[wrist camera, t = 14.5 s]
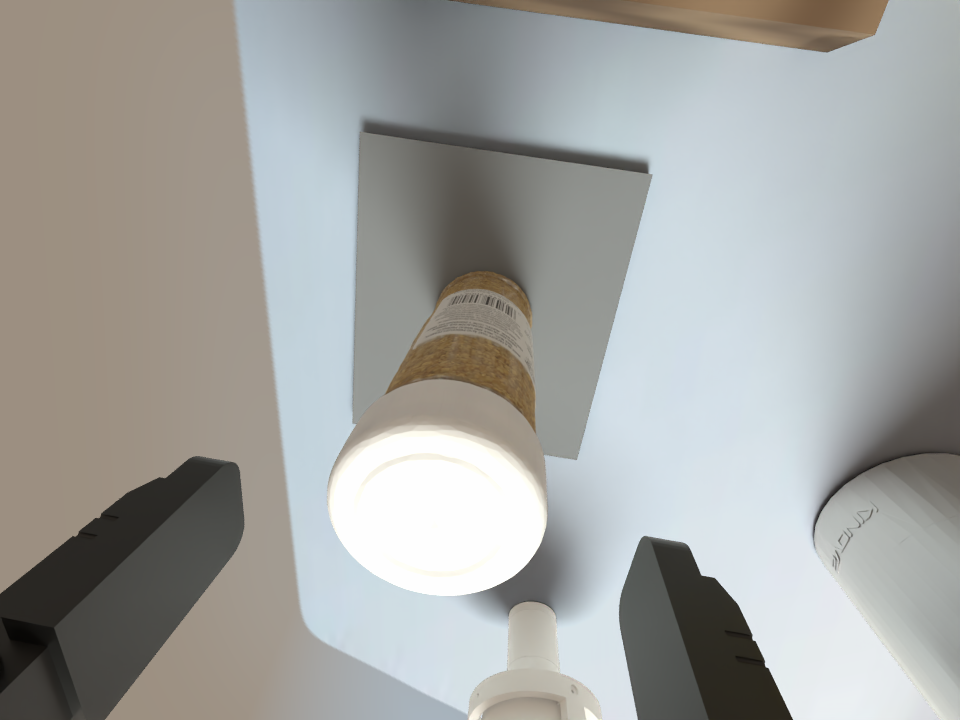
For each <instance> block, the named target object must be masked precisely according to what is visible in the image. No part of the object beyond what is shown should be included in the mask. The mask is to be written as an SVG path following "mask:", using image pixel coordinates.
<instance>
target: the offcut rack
mask: <svg viewBox="0 0 960 720" xmlns="http://www.w3.org/2000/svg"><path fill="white" fill-rule="evenodd" d="M449 1H457V2H464V3H471V4H479V5H486V6H493V7H500V8H508V9H515V10H522V11H529V12H537V13H544V14H551V15H558V16H566V17H573V18H580V19H588V20H595V21H602V22H609V23H617V24H624V25H631V26H638V27H646V28H653V29H660V30H667V31H675V32H682V33H689V34H696V35H704V36H711V37H718V38H726V39H733V40H740V41H747V42H755V43H762V44H769V45H776V46H784V47H791V48H798V49H805V50H813V51H820V52H830V51H832V50H835V49H838V48H840V47H843V46H846V45H848V44H851V43H854V42H857V41H859V40H862V39H865V38H867V37H870V36H873V35H875V33H876V31H877V28H878V26H879V23H880V21H881V18H882V16H883V13H884V11H885V8H886V6H887V3H888V1H889V0H449Z"/></svg>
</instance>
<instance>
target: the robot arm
mask: <svg viewBox="0 0 960 720" xmlns="http://www.w3.org/2000/svg"><path fill="white" fill-rule="evenodd" d="M243 530H244V512H243V502H242V491H241V480H240V471H239V467H238V466H237V464H236V463H233V462H229V461H223V460H217V459H211V458H206V457H200V456H195V457H192V458H190V459H188V460H187V461H186V462H184V463H183V464H182V465H181V466H180V467H179V468H177V469H176V470H175V471H174V472H173V473H171V474H170V475H169V476H168V477H167V478H160V477H159V478H157V479H155V480H153V481H151V482H149V483H147V484H145V485H143V486H141V487H138V488H136V489H134V490H132V491H130V492H129V493H126V494H125V495H124V496H123V497H122V498H120V499H119V500H118V501H116V502H115V503H114V504H113V505H111V506H110V507H109V508H108V509H106V510H105V511H104V512H103V513H102V514H101V517H100V518H95V519H94V520H93V521H91V522H90V523H89V524H88V525H86V526H85V527H84V528H82V529H81V530H80V531H79V534H78V535H77V536H76V537H74V536H72V537H71V538H70V539H69V540H67V541H66V542H65V543H64V544H62V545H61V546H60V547H59V548H58V549H56V550H55V551H54V552H52V553H51V554H50V555H49V556H47V557H46V558H45V559H44V560H42V561H41V562H40V563H39V564H37V565H36V566H35V567H34V568H32V569H31V570H30V571H28V572H27V573H26V574H25V575H23V576H22V577H21V578H20V579H18V580H17V581H16V582H15V583H13V584H12V585H11V586H10V587H8V588H7V589H6V590H5V591H3V592H2V593H1V594H0V720H105V719H106V718H107V716H108V715H109V714H110V712H111V711H112V710H113V709H114V707H115V706H116V705H117V703H118V702H119V701H120V700H121V698H122V697H123V696H124V694H125V693H126V692H127V691H128V689H129V688H130V686H131V685H132V684H133V683H134V682H135V680H136V679H137V678H138V676H139V675H140V674H141V673H142V671H143V670H144V669H145V667H146V666H147V665H148V663H149V662H150V661H151V660H152V658H153V657H154V656H155V655H156V653H157V652H158V651H159V649H160V648H161V647H162V646H163V644H164V643H165V642H166V640H167V639H168V638H169V636H170V635H171V634H172V633H173V631H174V630H175V629H176V627H177V626H178V625H179V624H180V622H181V621H182V620H183V619H184V617H185V616H186V615H187V613H188V612H189V611H190V610H191V608H192V607H193V606H194V604H195V603H196V602H197V601H198V599H199V598H200V597H201V595H202V594H203V593H204V592H205V590H206V589H207V588H208V586H209V585H210V584H211V582H212V581H213V580H214V579H215V577H216V576H217V575H218V574H219V572H220V571H221V570H222V568H223V567H224V566H225V565H226V563H227V562H228V561H229V559H230V558H231V557H232V555H233V554H234V552H235V551H236V549H237V547H238V545H239V543H240V541H241V538H242V534H243ZM814 542H815V548H816V552H817V554H818V556H819V558H820V560H821V561H822V563H823V565H824V566H825V567H826V569H827V570H828V571H829V573H830V574H831V575H832V577H833V578H834V579H835V581H836V582H837V583H838V585H839V586H840V587H841V589H842V590H843V591H844V593H845V594H846V595H847V597H848V598H849V599H850V601H851V602H852V603H853V605H854V606H855V607H856V609H857V610H858V611H859V613H860V614H861V615H862V617H863V618H864V619H865V620H866V622H867V623H868V625H869V626H870V628H871V629H872V630H873V632H874V633H875V634H876V636H877V637H878V638H879V640H880V641H881V642H882V644H883V645H884V646H885V648H886V649H887V650H888V652H889V653H890V654H891V656H892V657H893V658H894V660H895V661H896V662H897V663H898V665H899V666H900V667H901V669H902V670H903V671H904V673H905V674H906V675H907V677H908V678H909V679H910V681H911V682H912V683H913V685H914V686H915V687H916V689H917V690H918V691H919V693H920V694H921V695H922V697H923V698H924V699H925V701H926V702H927V703H928V705H929V706H930V707H931V709H932V710H933V711H934V713H935V714H936V715H937V716H938V718H939V719H940V720H960V455H954V454H948V453H925V454H919V455H913V456H906V457H902V458H898V459H895V460H892V461H889V462H886V463H882V464H880V465H878V466H876V467H874V468H872V469H870V470H867V471H865V472H863V473H861V474H860V475H858V476H857V477H856V478H854V479H853V480H851V481H850V482H848V483H847V484H845V485H844V486H843V487H842V488H841V489H840V490H839V491H838V492H837V493H836V494H835V495H834V496H832V497H831V499H830V500H829V502H828V503H827V504H826V506H825V507H824V509H823V510H822V511H821V514H820V516H819V519H818V521H817V523H816V526H815V535H814ZM619 622H620V629H621V635H622V640H623V645H624V650H625V655H626V660H627V666H628V671H629V676H630V681H631V686H632V691H633V696H634V701H635V707H636V712H637V717H638V720H793V719H792V717H791V715H790V713H789V710H788V708H787V706H786V704H785V702H784V700H783V698H782V696H781V694H780V692H779V689H778V687H777V685H776V683H775V681H774V679H773V677H772V675H771V673H770V671H769V669H768V668H766V667H765V660H764V658H763V656H762V654H761V652H760V650H759V648H758V646H757V643H756V641H753V640H752V633H751V631H750V629H749V627H748V625H747V622H746V620H745V618H744V616H743V614H742V612H741V610H740V608H739V606H738V604H737V603H736V602H735V601H734V600H733V599H732V597H731V596H730V595H729V594H728V593H727V592H726V590H725V589H724V588H723V587H722V586H721V585H720V584H719V582H718V581H717V580H716V579H715V578H712V577H706V576H701V574H700V571H699V569H698V567H697V564H696V562H695V559H694V557H693V555H692V552H691V550H690V548H689V547H688V545H687V544H685V543H682V542H676V541H670V540H665V539H659V538H653V537H648V536H644V537H642V538H641V540H640V542H639V544H638V547H637V550H636V553H635V555H634V558H633V561H632V564H631V567H630V570H629V573H628V575H627V578H626V581H625V584H624V587H623V590H622V593H621V597H620V605H619Z"/></svg>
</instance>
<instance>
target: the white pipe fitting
mask: <svg viewBox="0 0 960 720" xmlns="http://www.w3.org/2000/svg"><path fill="white" fill-rule="evenodd" d="M508 625H509V631H508V660H507V671H504V672H500V673H497V674H495V675H493V676H490V677H489V678H487V679H485V680H484V681H482V682H481V683H480V684H479V685H478V686H477V687H476V688H475V689H474V691H473V693H472V695H471V697H470V701H469V711H468V720H602V715H601V708H600V705H599V702H598V700H597V699H596V697H595V696H594V694H593V693H592V692H591V691H590V690H589V689H588V688H587V687H586V686H584V685H583V684H582V683H580V682H578V681H577V680H575V679H573V678H571V677H569V676H566V675H564V674H561V673H560V666H559V655H558V642H557V625H556V616H555V613H554V612H553V610H552V609H551V608H550V607H548V606H547V605H545V604H542V603H539V602H523V603H520V604H518V605H516V606H514V607H513V608H512V609H511V611H510V613H509V624H508ZM482 713H483V714H482ZM481 715H482V718H481V717H480V716H481Z"/></svg>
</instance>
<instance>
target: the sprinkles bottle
mask: <svg viewBox="0 0 960 720" xmlns="http://www.w3.org/2000/svg"><path fill="white" fill-rule="evenodd" d="M531 328H532V311H531V308H530V304H529V301H528V299H527V297H526V295H525V293H524V292H523V291H522V290H521V288H520V287H519V286H518V285H517V284H516V283H515V282H514V281H512V280H511V279H508V278H506V277H505V276H503V275H500V274H496V273H494V272H490V271H476V272H470V273H468V274H465V275H463V276H461V277H457V278H456V279H455V280H454V281H452V282H451V283H450V284H449V285H448V286H447V287H445V289H444V290H443V291H442V293H441V295H440V297H439V299H438V301H437V303H436V308H435V310H434V311H433V313H432V315H431V316H430V317H429V318H428V319H427V320H426V322H425V323H424V325H423V326H422V328H421V329H420V331H419V332H418V334H417V336H416V338H415V339H414V341H413V342H412V344H411V346H410V348H409V352H408V353H407V355H406V357H405V359H404V360H403V362H402V363H401V365H400V367H399V369H398V372H397V373H396V374H395V376H394V378H393V379H392V381H391V383H390V385H389V387H388V389H387V391H386V393H385V395H383V396H382V397H380V398H379V399H378V400H377V401H375V402H374V403H373V404H372V405H371V406H370V407H369V408H368V409H367V411H366V412H365V413H364V414H363V415H362V417H361V418H360V420H359V421H358V423H357V425H356V426H355V428H354V429H353V431H352V432H351V434H350V436H349V438H348V439H347V441H346V443H345V445H344V446H343V448H342V450H341V452H340V453H339V455H338V457H337V459H336V461H335V464H334V466H333V468H332V471H331V474H330V477H329V482H328V490H327V505H328V511H329V516H330V519H331V522H332V525H333V527H334V529H335V531H336V533H337V535H338V537H339V539H340V540H341V542H342V543H343V545H344V546H345V548H346V549H347V550H348V551H349V553H350V554H351V555H352V556H353V557H354V558H355V559H356V560H357V561H358V562H359V563H360V564H362V565H363V566H364V567H365V568H367V569H368V570H369V571H371V572H372V573H374V574H375V575H377V576H379V577H380V578H382V579H384V580H386V581H388V582H390V583H392V584H394V585H396V586H399V587H402V588H405V589H408V590H412V591H416V592H420V593H425V594H432V595H448V596H452V595H463V594H470V593H475V592H479V591H483V590H486V589H489V588H492V587H494V586H496V585H498V584H500V583H502V582H504V581H506V580H508V579H509V578H511V577H513V576H514V575H515V574H517V573H518V572H519V571H520V570H521V569H522V568H523V567H524V566H525V565H526V564H527V563H528V562H529V561H530V560H531V558H532V557H533V555H534V554H535V553H536V551H537V549H538V548H539V546H540V544H541V541H542V538H543V535H544V532H545V528H546V524H547V484H546V469H545V459H544V454H543V450H542V447H541V445H540V442H539V439H538V437H537V435H536V425H535V408H536V388H535V373H534V354H533V341H532V333H531Z"/></svg>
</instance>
